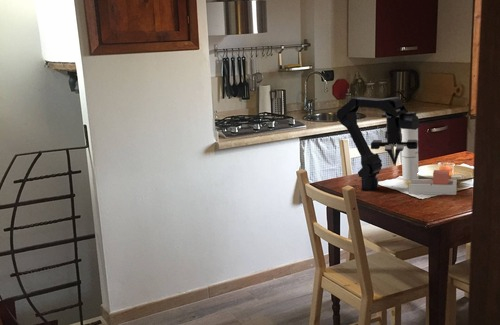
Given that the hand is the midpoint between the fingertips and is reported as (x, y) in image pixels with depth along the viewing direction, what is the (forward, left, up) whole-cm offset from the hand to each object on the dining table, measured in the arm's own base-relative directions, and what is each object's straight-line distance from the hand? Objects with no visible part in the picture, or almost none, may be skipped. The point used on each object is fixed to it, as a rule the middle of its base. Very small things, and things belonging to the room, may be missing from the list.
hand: (394, 164), depth 220 cm
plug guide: (+14, +5, -13) cm, 20 cm away
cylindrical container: (+4, +24, -13) cm, 28 cm away
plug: (+18, +5, -13) cm, 23 cm away
